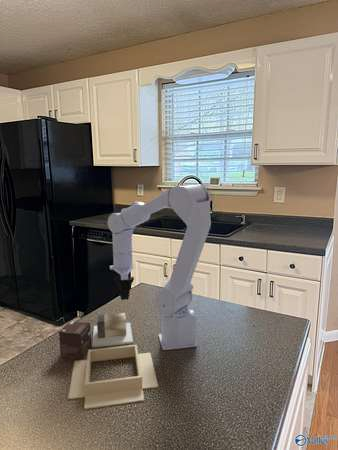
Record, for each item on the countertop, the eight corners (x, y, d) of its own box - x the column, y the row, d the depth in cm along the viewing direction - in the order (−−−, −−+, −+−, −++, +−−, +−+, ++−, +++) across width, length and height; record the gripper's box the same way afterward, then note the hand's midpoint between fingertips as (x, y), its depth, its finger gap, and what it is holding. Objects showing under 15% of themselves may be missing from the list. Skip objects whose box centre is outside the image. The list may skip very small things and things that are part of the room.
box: (81, 360, 80) (79, 334, 79) (60, 358, 81) (58, 331, 80) (92, 347, 86) (90, 322, 85) (71, 345, 87) (70, 320, 86)
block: (125, 328, 95) (125, 312, 94) (126, 335, 91) (125, 319, 90) (98, 331, 93) (97, 315, 92) (97, 338, 89) (97, 321, 89)
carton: (148, 346, 86) (148, 336, 86) (160, 398, 67) (160, 385, 66) (75, 354, 83) (75, 343, 82) (66, 411, 63) (65, 398, 63)
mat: (130, 324, 99) (130, 322, 99) (132, 343, 88) (132, 341, 88) (94, 327, 97) (93, 325, 96) (92, 347, 86) (92, 345, 86)
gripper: (109, 246, 102) (110, 286, 104) (109, 259, 88) (111, 305, 90) (131, 245, 103) (132, 285, 106) (134, 257, 89) (136, 303, 92)
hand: (124, 294), depth 98 cm, fingers open, 7 cm apart
